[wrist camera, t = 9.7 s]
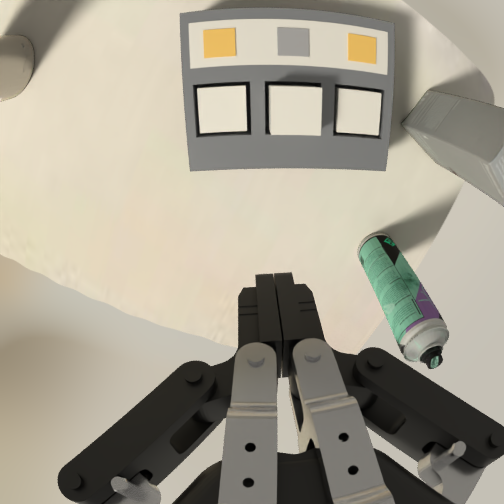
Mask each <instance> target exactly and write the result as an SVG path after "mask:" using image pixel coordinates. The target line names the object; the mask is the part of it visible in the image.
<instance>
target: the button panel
mask: <svg viewBox="0 0 504 504" xmlns="http://www.w3.org/2000/svg"><path fill="white" fill-rule="evenodd" d="M180 38H181V61H182V79H183V94H184V108H185V121H186V133H187V145H188V155H189V165H190V171H206V170H227V169H261V168H319V169H352V170H373V171H386V164H387V156H388V148H389V139H390V129H391V118H392V105H393V88H394V61H395V27H394V23H392V22H387V21H383V20H378V19H373V18H368V17H363V16H357V15H351V14H344V13H337V12H329V11H320V10H309V9H294V8H229V9H215V10H204V11H195V12H187V13H180ZM226 85H246V104H247V131H233V132H213V133H200V125H199V111H198V95H197V88H201V87H210V86H226ZM268 85H298V86H316V87H320V88H322V117H321V136H314V135H271V133H270V130H269V88H268ZM335 87H340V88H350V89H359V90H368V91H373V92H378V93H381V110H380V123H379V134H378V135H368V134H356V133H341V132H336V131H335V130H333V125H334V100H335Z"/></svg>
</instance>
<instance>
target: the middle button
mask: <svg viewBox="0 0 504 504" xmlns="http://www.w3.org/2000/svg"><path fill="white" fill-rule="evenodd" d="M268 88H269V130H270V133H271V135H314V136H321V117H322V88H320V87H316V86H298V85H268Z"/></svg>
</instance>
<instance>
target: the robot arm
mask: <svg viewBox="0 0 504 504" xmlns="http://www.w3.org/2000/svg"><path fill="white" fill-rule="evenodd" d="M33 66H34V51H33V47H32V44H31V43H30V41H29V40H28V39H27V38H26V37H24V36H22V35H6V36H0V102H2V101H5V100H8V99H11V98H14V97H16V96H17V95H18V94H20V93H21V92H22V91H23V89H24V88H25V87H26V85H27V84H28V81H29V79H30V77H31V74H32V71H33ZM255 277H256V287H248V288H243V289H242V291H241V293H240V294H239V296H238V349H237V351H236V353H235V355H234V356H233V357H232V358H230V359H229V360H228V361H226V362H223V363H220V364H217V365H214V366H210V365H208V364H207V363H205V362H202V361H190V362H187V363H184V364H183V365H181V366H180V367H179V368H177V369H176V370H175V371H174V372H173V373H172V374H171V375H170V376H169V377H168V378H167V379H165V380H164V381H163V382H162V383H161V384H160V385H159V386H158V387H156V388H155V389H154V390H153V391H152V392H151V393H150V394H148V395H147V396H146V397H145V398H144V399H143V400H142V401H140V402H139V403H138V404H137V405H136V406H135V407H134V408H132V409H131V410H130V411H129V412H128V413H127V414H126V415H124V416H123V417H122V418H121V419H120V420H119V421H118V422H116V423H115V424H114V425H113V426H112V427H110V428H109V429H108V430H107V431H106V432H105V433H103V434H102V435H101V436H100V437H99V438H97V439H96V440H95V441H94V442H93V443H92V444H90V445H89V446H88V447H87V448H86V449H84V450H83V451H82V452H81V453H80V454H78V455H77V456H76V457H75V458H74V459H72V460H71V461H70V462H69V463H67V464H66V465H65V466H64V467H63V468H62V469H61V470H60V472H59V475H58V486H59V489H60V491H61V493H62V494H63V495H64V496H65V497H66V498H68V499H69V500H71V501H74V502H76V503H79V504H160V501H161V494H160V491H159V489H158V488H157V485H158V484H159V483H161V481H163V480H164V479H165V478H166V477H167V476H168V475H169V474H170V473H171V472H172V471H173V470H174V469H175V468H176V467H177V466H178V465H179V464H180V463H182V462H183V461H184V459H186V458H187V457H188V456H189V455H190V454H191V453H192V452H193V451H194V450H195V449H196V447H198V446H199V445H200V444H201V443H202V442H203V441H204V439H205V438H206V437H207V436H208V435H209V434H210V433H211V432H212V431H213V430H214V429H215V428H216V426H218V425H219V424H220V423H221V421H222V420H223V419H224V418H226V428H225V437H224V447H223V457H222V461H219V462H217V463H215V464H213V465H212V466H210V467H208V468H207V469H206V470H204V471H203V472H202V473H201V474H200V475H199V476H198V477H197V478H196V479H195V480H194V481H193V482H192V483H191V485H190V486H189V487H188V488H187V489H186V490H185V491H184V492H183V493H182V494H181V495H180V496H179V497H178V498H177V499H176V500H175V501H174V502H173V503H172V504H465V503H466V501H467V500H468V498H469V496H470V495H471V493H472V491H473V489H474V488H475V486H476V484H477V482H478V480H479V479H480V477H481V475H482V473H483V471H484V469H485V468H486V466H488V465H489V464H491V463H492V462H494V461H495V460H497V459H498V458H500V457H501V456H502V455H504V427H503V426H502V425H501V424H499V423H497V422H496V421H494V420H493V419H491V418H490V417H488V416H486V415H485V414H483V413H481V412H480V411H479V410H477V409H475V408H474V407H472V406H471V405H469V404H467V403H466V402H464V401H463V400H461V399H460V398H458V397H456V396H455V395H453V394H452V393H450V392H449V391H447V390H445V389H444V388H442V387H440V386H439V385H437V384H436V383H434V382H433V381H431V380H430V379H428V378H427V377H425V376H423V375H422V374H420V373H419V372H417V371H416V370H414V369H413V368H411V367H410V366H408V365H406V364H405V363H403V362H402V361H400V360H399V359H397V358H396V357H394V356H393V355H391V354H389V353H388V352H386V351H385V350H383V349H380V348H375V347H370V348H366V349H364V350H362V351H361V352H360V353H359V354H358V355H353V354H346V353H341V352H338V351H336V350H334V349H333V348H331V347H330V346H329V345H328V344H327V342H326V341H325V338H324V334H323V331H322V327H321V323H320V319H319V315H318V312H317V308H316V304H315V300H314V297H313V293H312V291H311V290H310V289H309V288H308V287H307V286H306V284H294V280H293V276H292V273H291V272H290V273H274V278H273V274H259V275H255ZM281 371H282V377H288V378H289V385H290V388H289V397H290V401H291V406H292V410H293V415H294V420H295V424H296V429H297V434H298V446H299V454H286V453H279V452H277V386H278V378H280V377H281ZM366 426H367V427H368V428H370V429H371V430H372V431H374V432H375V433H377V434H378V435H379V436H381V437H382V438H384V439H385V440H386V441H388V442H389V443H391V444H392V445H394V446H395V447H396V448H398V449H399V450H401V451H402V452H404V453H405V454H407V455H408V456H410V457H411V458H413V459H414V460H416V461H417V462H418V474H419V477H420V478H421V479H422V480H423V481H425V482H426V483H424V482H423V481H421V480H420V479H419V478H417V477H416V476H414V475H413V474H412V473H410V472H409V471H408V470H406V469H405V468H404V467H402V466H401V465H399V464H398V463H397V462H395V461H394V460H393V459H392V458H390V457H389V456H387V455H386V454H385V453H383V452H381V451H379V450H377V449H375V448H373V446H372V443H371V440H370V437H369V434H368V431H367V428H366Z"/></svg>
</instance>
